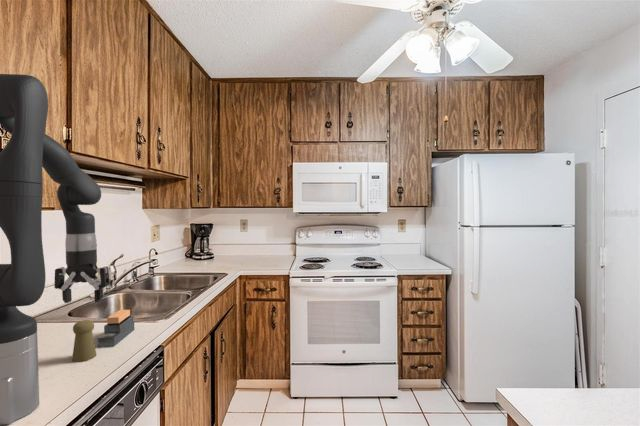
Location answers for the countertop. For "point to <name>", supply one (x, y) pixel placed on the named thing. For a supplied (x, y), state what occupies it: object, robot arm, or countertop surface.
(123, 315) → the orange button
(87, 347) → the cork
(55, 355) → the countertop surface
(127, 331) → the grey slotted housing
